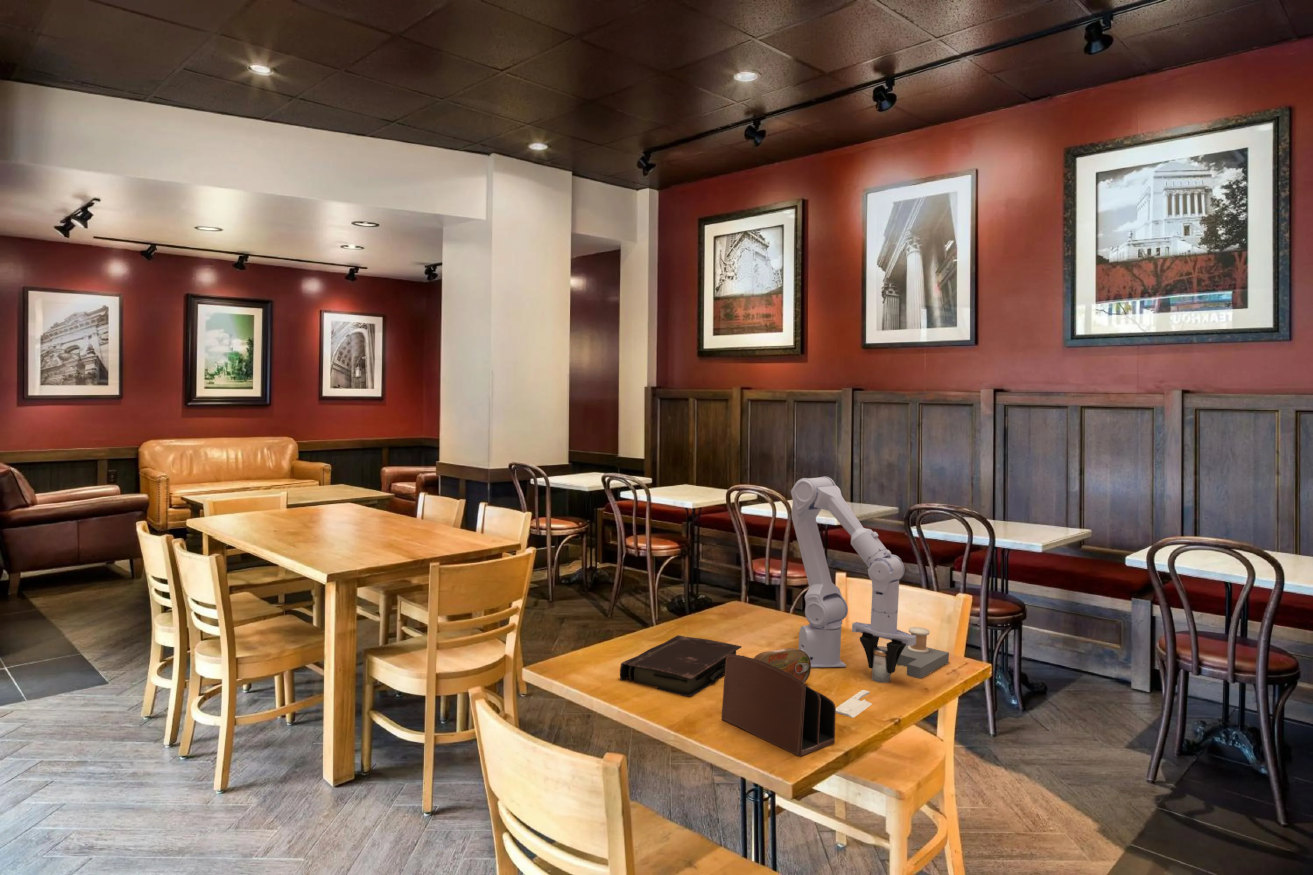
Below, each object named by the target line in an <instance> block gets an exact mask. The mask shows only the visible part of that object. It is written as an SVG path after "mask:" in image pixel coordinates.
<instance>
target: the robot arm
mask: <svg viewBox="0 0 1313 875" xmlns="http://www.w3.org/2000/svg"><path fill="white" fill-rule="evenodd" d="M790 495H791V498H792V507H791V515H790V516H791V520H792V523H793V527H794V531H795V536H796V540H797V543H798V548H799V551H800V556H801V560H802V563H803V564H802V565H803V567H804V571H805V575H806V580H807V583H808V589H807V592H806V593H805V595H804V601H805V608H804V615H805V618H806V620H807V622H808V623H809V624H806V625H801V626H800V629H799V633H798V649H799V650H802V651H804V652H805V653H806V654H807V655H808V657H809V659H810V662H811V668H846V667H847V664H846V663H845V662H844V661H842V660H841V644H842V641H841V640H842V626H843V620H844V619H846V617H847V616H848V614H849V607H848V603H847V600H845V598H844V597H843V595H842V593H841V589H840V588H839V587H838V586H837V585H836V584H834V583H833V580H832V577H831V574H830V569H829V565H828V561H827V557H826V553H825V550H824V545H823V541H822V538H821V534H820V530H819V526H818V524H817V517H818V515H819V514H820V512H821V511H822V510H825V511H828V512H830V514H831V515H832V516H833V517H834V518H835V519H836V520H837V522H838V523H839V524H840V525H841V526H842V527H843V529H844V530H845V531H846V532H847V533H848V534H849V535H850V546H852V548H853V549H854V550H855V552H856V553H857V554H858V555H859V557H860V558H861V559H862V561H863V562H864V564H865V565H866V566H867V567H868V569H867V573H868V577H869V579H870V581H871V588H872V589H871V610H870V611H871V612H870V623H864V622H858V621H855V622H853V623H852V624H851V625H852V626H851V632H852V633H860V634H861V636H860V637H859V641H860V643H861V645H862V647H863V650H864V652H865V656H866V660H867V665H868V666H867V667H868V668H869V669H872V667H873V648H874V647H876V646H879V645H878V644H879V640H880V639H884V640H889V641H888V642H887V643H886V647H887V651H888V673H890V674H891V675H892V674H893V673H895V672H896V667H897V665H898V664H897V662H898V659H899V657H900V654H901V653H902V651H903V649H904V647H905V646H906V644H908V645H909V646H913V645H915V644H916V636H915V635H911V633H908V632H906V631H902V630H899V629H898V616H899V615H898V612H899V599H900V598H899V596H900V594H899V593H900V592H899V591H900V580H901V579H902V578H903V577H904V574H905V570H906V569H905V565H904V563H903V561H902V558H900V557H899V556H898V555H896V554H892V552H891V551H890V550H889V549H887V548H886V546H885V545H884V544H883V542H882V541H881V540H880V539H879V536H880V535H879V534H878V532H876V531H873V530H872V529H871V528H865V527H864V526H863V525H862V523H861V522H860V520H859V518H857V516H856V515H855V513H854V511H853V510H852V509H851V507H850V506H849V504H848V503H847V501H846V500H845V499H844V497H843V495H842V490H841V489H840V488H839V487H838V486H837V485H836V483H835V481H834V480H833V479H832V478H831V477H829V476H825V475H824V476H820V477H811V478H810V477H808V478H807V477H803V478H800V479H798V480H797V481H796V482H795V484H794V485H793V487H792V488H791V490H790Z"/></svg>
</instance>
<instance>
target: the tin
mask: <svg viewBox="0 0 1313 875" xmlns="http://www.w3.org/2000/svg"><path fill="white" fill-rule="evenodd" d="M752 658H753V659H757V660H760V661H763V662H765V663H768V664H770V665H772V666H775V667H777V668H779V669H781V670H783V671H785V672H787V673H789V674H791V675H793V676H794V677H796V678H798V679H800V680H801V681H802V682H803V683H804V684H805V683H806V682H807V681H808V679H809V677H810V675H811V670H812V667H811V662H810V659H809V657H808V655H807V654H806V653H805V652H804V651H802V650H799V648H795V647H787V648H782V649H776V650H775V649H774V650H769V651H763V652H760V653H758V654H756V655H755V656H754V657H752Z"/></svg>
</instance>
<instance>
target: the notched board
mask: <svg viewBox="0 0 1313 875" xmlns="http://www.w3.org/2000/svg"><path fill="white" fill-rule="evenodd" d="M908 632H909V634H911V635H915V636H916V644H915V645H913V646H909V645H908V644H906V646H905V647H904V649H903V651H902V653H901V654H900V657H899V659H898V662H897V664H896V665H898V666H902V667H906V676H909V677H914V678H917V679H920V678H921V679H922V678H924V677H926V676H927V675H930V674H931V673H933V672H934V670H935V671H936V669H937V668H938V669H940V668H941V666H942V667H943V665H944V664H945V665H948V664H949V663H950V662H949V660H950V659H949V658H950V652H948V651H944V650H940V649H937V648H932V647H928V646H927V639H928V635H930V632H931V631H930V630H929V629H927V628H925V627H921V626H912V627H911V626H910V627H908ZM945 665H944V666H945ZM938 669H937V670H938ZM932 671H933V672H932ZM930 672H931V673H930Z"/></svg>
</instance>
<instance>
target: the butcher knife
mask: <svg viewBox="0 0 1313 875" xmlns="http://www.w3.org/2000/svg"><path fill="white" fill-rule="evenodd" d="M870 692H871V691H869V690H865V689H862V690H860V691H859V692H857V693H856V694H854V695H853V696H851V697H850V698H848V699H847V700H845V701H844V702H842V703H840V704H839V705H838V706H836V715H837V714H838V715H841V716H845V717H849V718H852V719H854V718H856V716H858V715H860V714H861V713H862V712H864V711H865V710H866V709H868V708H869V707H870V706H871V705H873V703H872V702H869V701H867V699H865V696H867V695H870ZM862 698H864V699H863V700H861V699H862Z"/></svg>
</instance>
